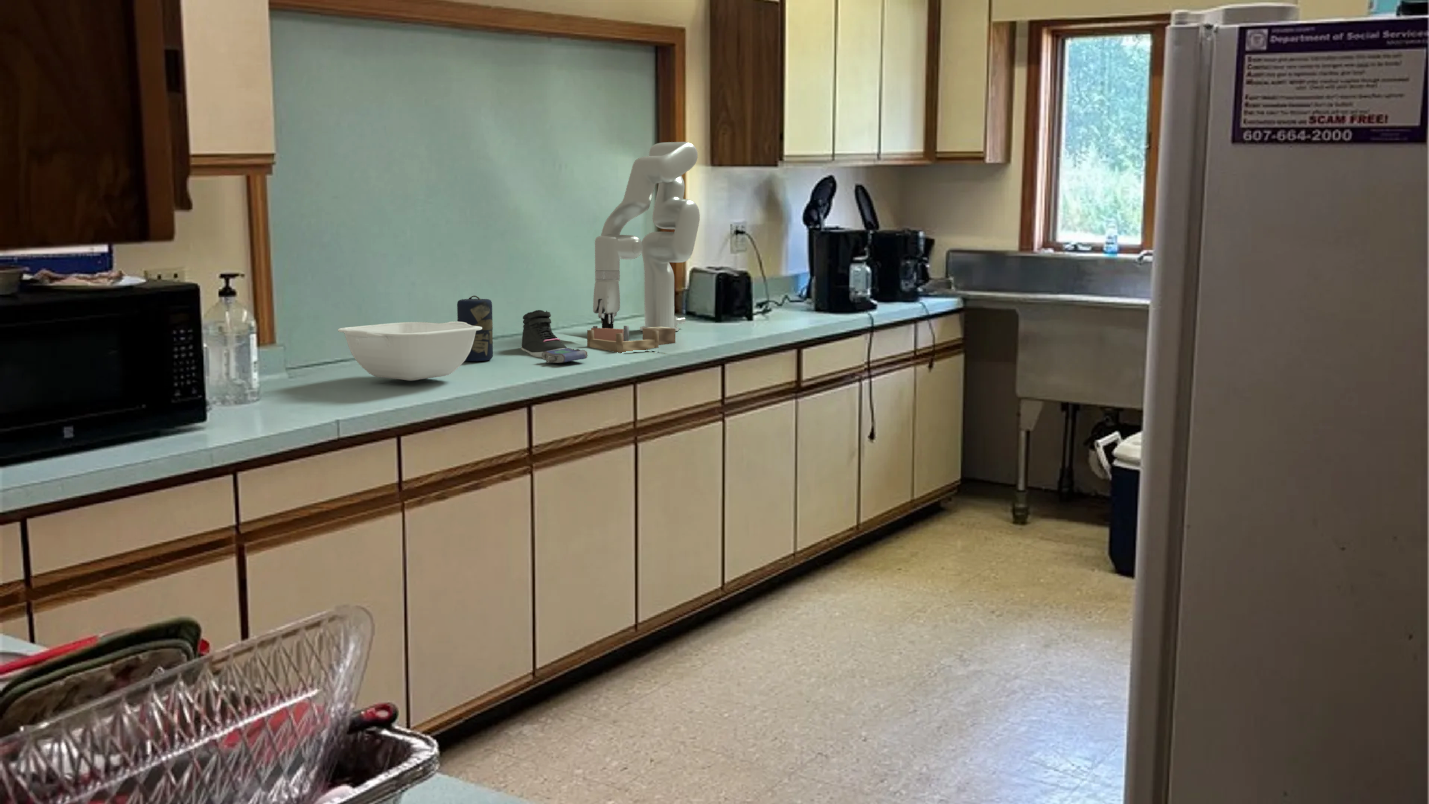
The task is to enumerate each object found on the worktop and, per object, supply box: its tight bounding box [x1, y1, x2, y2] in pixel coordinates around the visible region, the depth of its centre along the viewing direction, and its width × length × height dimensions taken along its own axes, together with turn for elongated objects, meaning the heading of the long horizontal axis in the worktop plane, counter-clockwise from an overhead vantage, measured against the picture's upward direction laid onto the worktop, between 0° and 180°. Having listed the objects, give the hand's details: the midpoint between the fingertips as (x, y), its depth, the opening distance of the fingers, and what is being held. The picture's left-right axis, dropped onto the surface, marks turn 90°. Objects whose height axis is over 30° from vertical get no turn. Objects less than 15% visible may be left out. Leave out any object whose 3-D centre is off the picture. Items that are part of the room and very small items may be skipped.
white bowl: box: [337, 321, 482, 381], centre depth 342 cm, size 34×28×13 cm
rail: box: [590, 325, 630, 341], centre depth 416 cm, size 12×2×6 cm, turn 68°
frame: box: [586, 329, 660, 354], centre depth 405 cm, size 16×16×6 cm
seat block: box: [642, 327, 676, 346], centre depth 414 cm, size 7×7×6 cm
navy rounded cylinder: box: [456, 295, 494, 363], centre depth 376 cm, size 10×10×18 cm
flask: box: [541, 347, 589, 364], centre depth 374 cm, size 9×3×11 cm
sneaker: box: [520, 309, 567, 359], centre depth 391 cm, size 10×26×13 cm, turn 31°
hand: (607, 336), depth 423 cm, fingers closed
